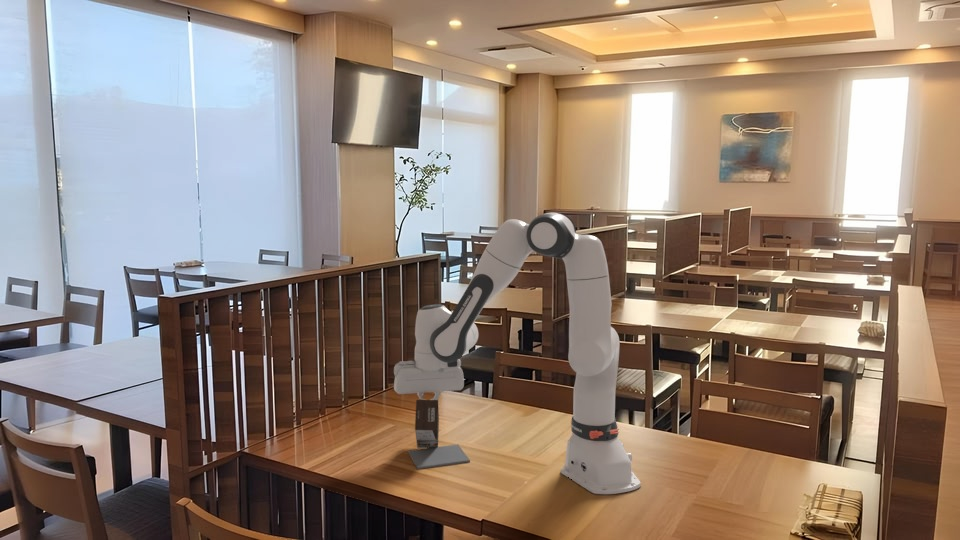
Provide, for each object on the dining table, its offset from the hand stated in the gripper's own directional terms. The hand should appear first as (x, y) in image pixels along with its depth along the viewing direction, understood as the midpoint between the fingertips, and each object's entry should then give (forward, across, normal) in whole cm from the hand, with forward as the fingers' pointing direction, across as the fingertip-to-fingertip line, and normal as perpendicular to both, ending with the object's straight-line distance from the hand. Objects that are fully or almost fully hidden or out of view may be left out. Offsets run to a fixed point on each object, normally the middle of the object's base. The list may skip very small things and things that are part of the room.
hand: (428, 405), depth 196 cm
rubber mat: (+13, +2, -7) cm, 15 cm away
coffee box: (+10, +1, +3) cm, 10 cm away
